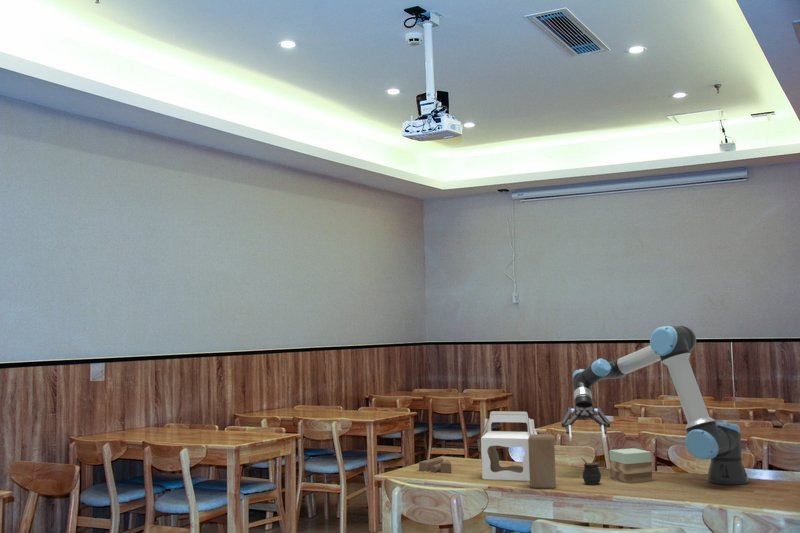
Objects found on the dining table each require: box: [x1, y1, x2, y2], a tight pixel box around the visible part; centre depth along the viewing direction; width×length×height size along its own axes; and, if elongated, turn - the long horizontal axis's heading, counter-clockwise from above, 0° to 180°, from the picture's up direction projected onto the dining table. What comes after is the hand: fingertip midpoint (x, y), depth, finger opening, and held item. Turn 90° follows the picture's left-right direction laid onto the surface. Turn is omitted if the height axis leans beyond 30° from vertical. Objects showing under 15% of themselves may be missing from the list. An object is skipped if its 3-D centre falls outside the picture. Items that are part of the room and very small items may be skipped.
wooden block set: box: [418, 457, 452, 474], centre depth 376 cm, size 17×6×18 cm
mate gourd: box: [581, 457, 602, 486], centre depth 331 cm, size 7×8×10 cm
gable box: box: [480, 410, 538, 482], centre depth 351 cm, size 22×13×28 cm, turn 68°
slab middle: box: [609, 459, 653, 474], centre depth 337 cm, size 12×12×4 cm
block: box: [528, 433, 557, 489], centre depth 328 cm, size 10×10×20 cm
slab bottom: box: [609, 469, 653, 484], centre depth 337 cm, size 12×12×4 cm
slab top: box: [608, 447, 653, 464], centre depth 338 cm, size 12×12×4 cm
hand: (587, 439), depth 343 cm, fingers open, 13 cm apart
